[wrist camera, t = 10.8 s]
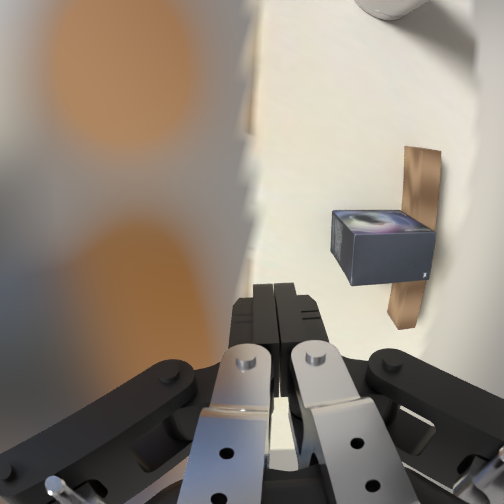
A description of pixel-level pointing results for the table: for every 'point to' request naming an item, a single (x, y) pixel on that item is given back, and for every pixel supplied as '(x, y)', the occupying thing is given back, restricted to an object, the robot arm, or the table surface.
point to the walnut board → (424, 211)
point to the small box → (381, 246)
